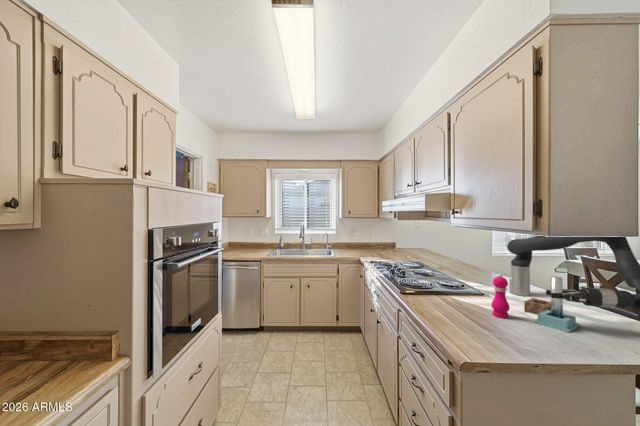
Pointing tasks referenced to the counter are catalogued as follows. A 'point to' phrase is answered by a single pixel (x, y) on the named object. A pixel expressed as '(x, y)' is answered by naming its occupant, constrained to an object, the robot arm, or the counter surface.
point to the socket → (557, 321)
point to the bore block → (536, 306)
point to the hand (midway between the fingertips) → (548, 293)
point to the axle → (555, 302)
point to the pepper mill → (500, 297)
